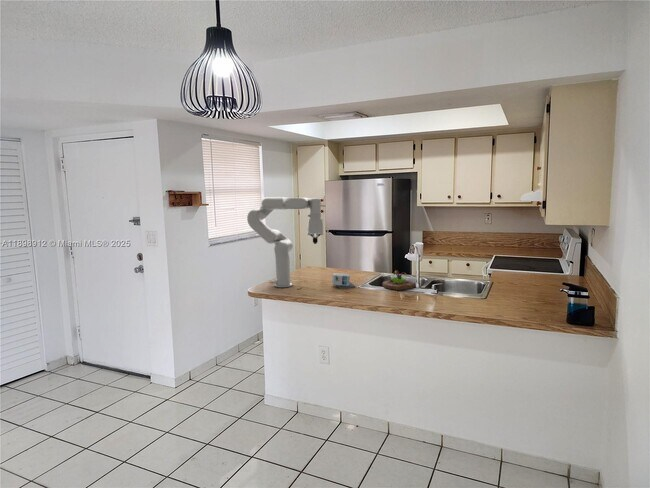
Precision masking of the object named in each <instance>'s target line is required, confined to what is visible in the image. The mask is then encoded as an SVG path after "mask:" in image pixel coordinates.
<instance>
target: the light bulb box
mask: <svg viewBox="0 0 650 488" xmlns="http://www.w3.org/2000/svg"><path fill="white" fill-rule="evenodd" d="M349 281H350V275H349V273H341V272H340V273H338V272H333V273H332V278H331V284H332V285H333V286H336V285H343V286H349Z"/></svg>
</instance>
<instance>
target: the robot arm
mask: <svg viewBox="0 0 650 488" xmlns="http://www.w3.org/2000/svg"><path fill="white" fill-rule="evenodd" d="M260 203H261V205H259V207H258V208H252V209H250V210H249V211H248V213H247V215H246V217H247V218H246V219H247V224H248V226H249V227H250V228H251V229H252V230H253V231H254V232H255V233H256V234H257V235H259V237H261V239H263V240H264V241H265V243H267V244H271V245H273V244H274V248H273V250H274V256H275V275H276V276H275V277H276V278H275V279H274V280H269V284H274V287H276V288H289V287H292V286H293V283H292V282H291V269H290V268H291V267H290V266H291V264H290V263H291V261H290V254H289V253H290V252H292V249H293V241H292V240H290V239H289V238H288V237H287V236H286V235H284V233H283V232H281V231H280V230H278V229H276V228H275V229H274V228H273V229H272V228H270V226H268V225H267V224H266V223H264V222H263V220H265V219H266V218H267V217H268V216H269V215H270V214H271V213H272V212H273V211H274V210H306V209H309V214H307V217H308V221H307V232H306V235H307V236H310V237H312V243H313V244H314V245H315V244H318V238H319V237H320V236H323V235H324V223H323V218H322V200H321V198H319V197H310V198H309V197H286V196H265V197H263V198H262V200H261V202H260Z"/></svg>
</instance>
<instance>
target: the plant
mask: <svg viewBox="0 0 650 488" xmlns="http://www.w3.org/2000/svg"><path fill="white" fill-rule="evenodd" d="M403 274H404V276H407V273H406V272H404V271H403V272H401V273H400V272H399V271H398V269H397V270H395V271H394V272H393V275H396V276H392V277H391V279H389V280H386V281H385V280H384V281H383V282H382V287H384V288H385V289H389V290H394V291H395V290H396V291H401V290H408V289H411V290H412V289H414V287H416V283H415V282H413V281H409V280H407V277H405V278H404V276H403Z"/></svg>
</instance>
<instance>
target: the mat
mask: <svg viewBox="0 0 650 488" xmlns="http://www.w3.org/2000/svg"><path fill="white" fill-rule="evenodd" d="M335 286H336V287H337V288H338V289H339V290H342V289H355V288H356V286H355V285H354V284H353V283H352V282H351V281H350V280H349V286H343V285H335Z"/></svg>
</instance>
